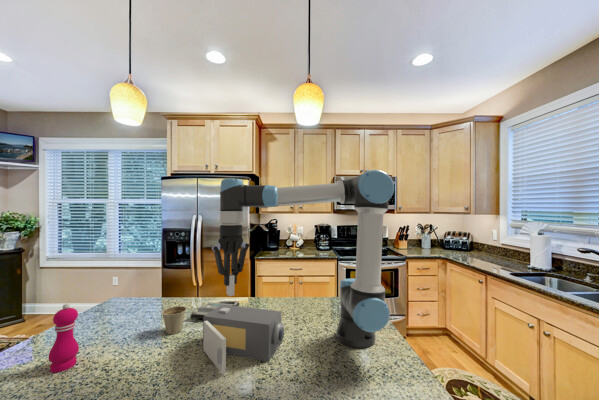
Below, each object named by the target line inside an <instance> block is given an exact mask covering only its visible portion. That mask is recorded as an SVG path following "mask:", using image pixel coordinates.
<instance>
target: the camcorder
mask: <svg viewBox="0 0 599 400" xmlns="http://www.w3.org/2000/svg"><path fill="white" fill-rule="evenodd" d="M221 305H230V306H239V307H240V301H238V300H221V301H218V302H211V301H210V302H209V301H208V302H207V304H202V305H200V306H199V307H198V308H197V311H195V310H193V311H192V312H191V314H190V319H191V320H192V319H194V318H195V319H203V316H204V315H206V314H208V313H209V312H211V311H213V310H214V309H216V308H217V307H219V306H221Z"/></svg>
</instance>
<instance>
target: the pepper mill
mask: <svg viewBox="0 0 599 400" xmlns="http://www.w3.org/2000/svg"><path fill="white" fill-rule="evenodd" d="M78 317H79V312H78V310H77V309H76V308H74V307H71V305H70V304H69V303H65V304H63V305H62V309H60V310H58V311H57V312H55V314H54V315H53V318H52V322H53V324H54V325H55V326H54V332H56V336H55V337H56V338H55V341H54V343H53V345H52V347H51V349H50V351H49V352H48V353H49V354H48V357H47V358H48V361H50V365H49V372H50V373H56V374H57V373H61V372H63V371H67V370H70V369H72V368H73V367H74V366H75V365H76V364H77V354H78V353H79V352H80V351H79V350H80V348H79V347H80V345H79V343H78V342H77V340H76V338H75V336H74V329H75V328H76V327H77V326H76V323H77V322H76V320H77V319H78Z"/></svg>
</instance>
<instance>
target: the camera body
mask: <svg viewBox="0 0 599 400" xmlns="http://www.w3.org/2000/svg"><path fill="white" fill-rule="evenodd" d="M202 320H203V322H202V324H203V325H202V341H203V340H204V321H208V322H209V323H210V324H211V325H212V326H213V327H215V328H216V329H217V330H218V331H219V332H220V333H221V334H222V335H223V336H224V337H225V338H226V355H230V356H236V357H240V358H241V357H243V358H249V359H252V360H253V359H254V360H259V361H265V362H270V361H271V359H272V358H273V356H274V355H275V353H277V351H278V349H279V348H280V346H281V345H282V342H283V340H284V337H285V325H284V323H283V322H282V311H281V310H272V309H264V308H263V309H262V308H255V307H247V306H246V307H245V306H240V305H239V306H230V305H221V306H219V307H217V308H216V309H214V310H213V311H211V312H209V313H208V314H206V315H204V316H203V318H202Z"/></svg>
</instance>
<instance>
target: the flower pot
mask: <svg viewBox="0 0 599 400" xmlns="http://www.w3.org/2000/svg"><path fill="white" fill-rule="evenodd" d="M187 310H188V309H187V307H186V306H183V305H181V306H180V305H178V306H177V305H175V306H171V307H168V308H165V309H164V310H162V312H161V315H162V316H163V320H164V327H165V333H166V334H168V335H176V334H178V333H181V332H182V331H183V327H184V321H185V314H186V312H187Z"/></svg>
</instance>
